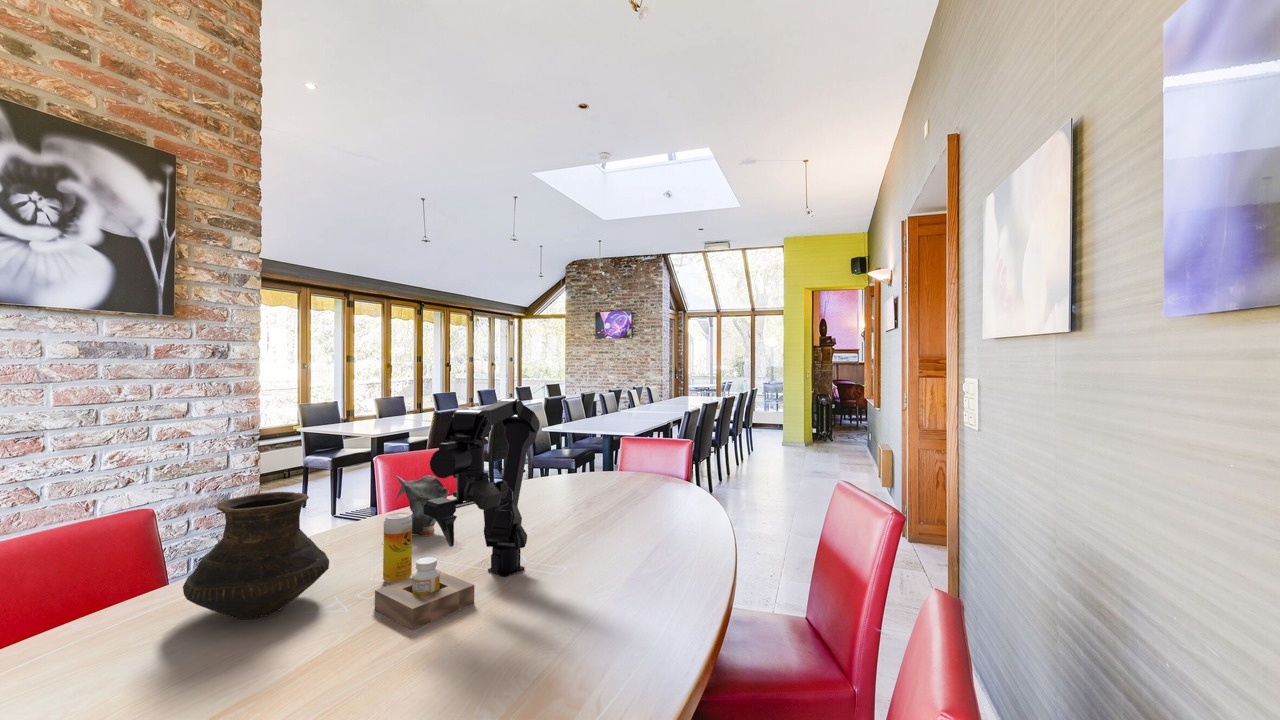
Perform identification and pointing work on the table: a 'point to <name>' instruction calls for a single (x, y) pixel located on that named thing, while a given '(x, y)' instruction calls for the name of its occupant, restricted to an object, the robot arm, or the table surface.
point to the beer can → (397, 548)
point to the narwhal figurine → (422, 501)
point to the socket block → (423, 601)
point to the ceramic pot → (257, 558)
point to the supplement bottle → (425, 577)
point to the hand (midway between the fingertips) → (470, 540)
